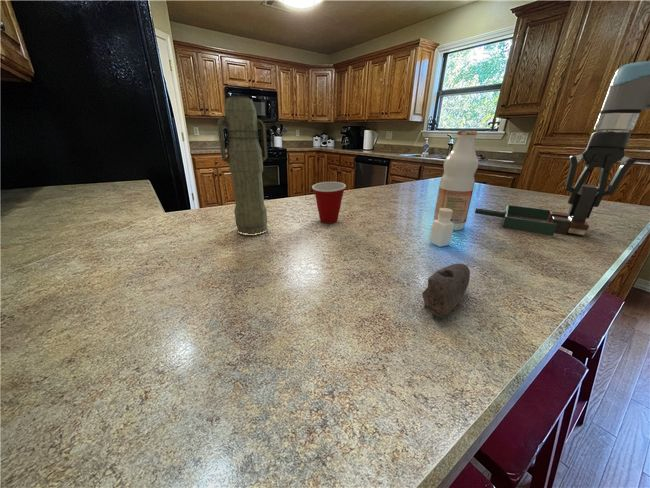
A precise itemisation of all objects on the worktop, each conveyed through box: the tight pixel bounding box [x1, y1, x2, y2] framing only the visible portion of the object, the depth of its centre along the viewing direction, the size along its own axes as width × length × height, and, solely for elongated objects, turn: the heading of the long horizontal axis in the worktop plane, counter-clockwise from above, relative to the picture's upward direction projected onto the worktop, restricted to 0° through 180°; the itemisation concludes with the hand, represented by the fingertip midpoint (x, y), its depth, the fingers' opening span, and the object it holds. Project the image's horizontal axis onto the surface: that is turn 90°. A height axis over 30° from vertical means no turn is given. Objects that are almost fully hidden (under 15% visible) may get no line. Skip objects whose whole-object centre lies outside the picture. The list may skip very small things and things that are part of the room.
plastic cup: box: [311, 181, 347, 224], centre depth 86 cm, size 11×11×12 cm
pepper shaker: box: [429, 208, 454, 248], centre depth 70 cm, size 4×4×10 cm
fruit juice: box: [432, 130, 479, 231], centre depth 80 cm, size 9×9×28 cm
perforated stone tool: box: [421, 263, 471, 319], centre depth 46 cm, size 15×5×7 cm, turn 135°
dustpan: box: [474, 204, 557, 236], centre depth 90 cm, size 22×18×4 cm
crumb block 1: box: [546, 210, 568, 223], centre depth 87 cm, size 4×4×4 cm
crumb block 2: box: [550, 216, 571, 235], centre depth 81 cm, size 4×4×4 cm
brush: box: [565, 183, 599, 236], centre depth 80 cm, size 4×12×13 cm, turn 146°
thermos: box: [216, 95, 269, 237], centre depth 72 cm, size 9×12×35 cm
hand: (577, 215), depth 81 cm, fingers closed on brush, 3 cm apart
